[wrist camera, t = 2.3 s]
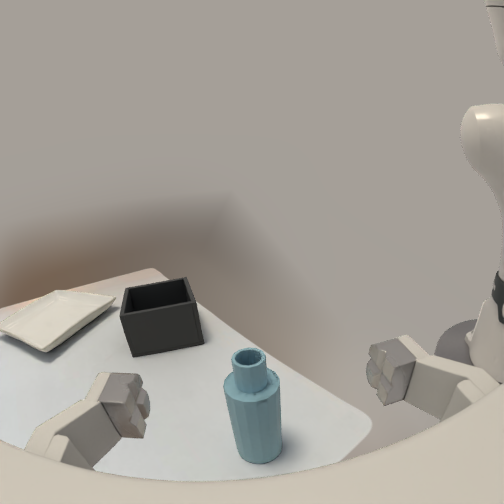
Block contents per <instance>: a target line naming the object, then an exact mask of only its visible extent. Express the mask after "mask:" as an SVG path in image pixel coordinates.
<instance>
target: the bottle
mask: <svg viewBox="0 0 504 504" xmlns="http://www.w3.org/2000/svg"><path fill="white" fill-rule="evenodd" d="M231 360H232V366H233V372H232V373H230V374H229V375H228V376H227V378H226V379H225V381H224V386H223V387H224V392H225V397H226V402H227V406H228V411H229V415H230V420H231V424H232V428H233V433H234V437H235V441H236V445H237V449H238V452H239V454H240V456H241V457H242V458H243V459H244V460H246V461H248V462H251V463H255V464H262V463H267V462H270V461H272V460H274V459H275V458H276V457H277V456H278V455H279V454H280V452H281V449H282V436H281V406H280V381H279V377H278V376H277V374H276V373H275V372H274V371H272V370H270V369H269V368H267V367H266V356H265V354H264V352H263V351H262V350H259V349H257V348H245V349H241V350H238V351H237V352H235V353H234V354H233V356H232V359H231Z"/></svg>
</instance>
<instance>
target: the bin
mask: <svg viewBox="0 0 504 504" xmlns="http://www.w3.org/2000/svg"><path fill="white" fill-rule="evenodd" d="M120 320H121V323H122V326H123V329H124V333H125V336H126V339H127V342H128V345H129V348H130V351H131V353H132V356H133V357H137V356H143V355H149V354H155V353H160V352H166V351H171V350H176V349H181V348H186V347H191V346H196V345H200V344H204V340H203V335H202V330H201V325H200V320H199V314H198V309H197V303H196V300H195V298H194V295H193V293H192V290H191V288H190V285H189V282H188V280H187V277H185V278H179V279H174V280H168V281H163V282H157V283H151V284H146V285H140V286H135V287H129V288H125V292H124V297H123V302H122V306H121V311H120Z"/></svg>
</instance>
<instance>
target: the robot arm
mask: <svg viewBox="0 0 504 504" xmlns="http://www.w3.org/2000/svg"><path fill="white" fill-rule="evenodd" d="M484 2H485V5H486V9H487V12H488V16H489V19H490V23H491V27H492V31H493V35H494V40H495V44H496V49H497V54H498V56H499V58H500V60H501V62H502V64H503V65H504V0H484ZM460 136H461V137H460V138H461V144H462V148H463V151H464V154H465V156H466V158H467V160H468V162H469V163H470V165H471V166H472V168H473V169H474V170H475V171H476V172H477V173H478V174H479V175H480V176H481V177H482V178H483V179H484V180H485V181H486V183H487V184H488V185H489V187H490V188H491V190H492V192H493V193H494V196H495V198H496V200H497V202H498V205H499V208H500V212H501V217H502V228H503V233H502V234H503V235H502V251H501V260H500V266H499V271H497V273H496V277H495V279H494V283H493V290H492V296H491V297H490V298H488V299H487V300H486V301H484V302H483V304H482V307H481V310H480V313H479V316H478V319H477V323H476V325H475V328H474V330H472V331H470V332H468V333H467V334H466V336H465V342H466V343H467V345H468V346H469V354H470V358H471V361H472V363H473V364H474V366H471V365H467V364H464V363H460V362H456V361H453V360H449V359H446V358H442V357H439V356H435V355H432V356H430V355H428V354H427V353H426V352H425V351H424V350H423V349H422V348H421V347H420V346H419V345H418V344H417V343H416V342H415V341H414V340H413V339H412V338H410V336H408V335H403V336H400V337H397V338H394V339H392V340H388V341H384V342H381V343H377V344H373V345H371V347H370V349H369V355H370V357H371V359H370V361H369V362H368V363H367V368H366V375H367V379H368V382H369V384H370V385H371V387H373V388H375V389H377V396H378V398H379V399H380V400H381V402H382V403H383V405H384V406H386V405H389V404H392V403H395V402H398V401H401V400H404V401H406V402H408V403H410V404H411V405H413V406H415V407H417V408H419V409H421V410H423V411H425V412H427V413H429V414H431V415H432V416H434V417H436V418H438V419H440V422H439V423H438V424H436V425H434V426H432V427H430V428H428V429H426V430H424V431H422V432H420V433H417V434H415V435H413V436H411V437H408V438H406V439H404V440H401V441H399V442H396V443H394V444H392V445H389V446H386V447H384V448H381V449H379V450H376V451H373V452H370V453H367V454H364V455H361V456H358V457H355V458H351V459H348V460H345V461H341V462H338V463H334V464H330V465H326V466H322V467H318V468H313V469H309V470H304V471H299V472H294V473H288V474H282V475H276V476H269V477H261V478H252V479H242V480H227V481H168V480H154V479H144V478H135V477H127V476H121V475H114V474H109V473H103V472H98V471H95V470H94V469H93V468H92V467H93V466H94V465H95V464H96V463H97V462H98V461H99V460H100V459H101V458H102V457H103V456H104V455H106V454H107V453H108V452H109V451H110V450H111V449H112V448H113V447H114V446H115V445H116V443H117V442H118V441H119V440H120V439H121V437H126V438H143V437H144V433H145V429H146V423H145V421H144V419H146V418H147V417H148V416H149V412H150V401H149V396H148V394H147V392H146V391H145V390H144V389H143V388H141V387H142V384H143V381H142V379H141V377H140V375H138V374H130V373H106V372H101V373H99V374H98V375H97V377H96V379H95V381H94V383H93V385H92V386H91V388H90V390H89V392H88V394H87V396H86V398H85V400H80V401H78V402H77V403H75V404H74V405H72V406H70V407H69V408H67V409H66V410H64V411H62V412H61V413H59V414H57V415H56V416H54V417H53V418H51V419H49V420H48V421H46V422H44V423H43V424H41V425H39V426H38V427H36V429H35V430H34V432H33V434H32V436H31V438H30V439H29V441H28V443H27V445H26V447H25V449H24V450H23V449H21V448H18V447H16V446H13V445H11V444H9V443H6V442H4V441H2V440H0V504H504V104H498V103H495V104H484V105H478V106H472V107H470V108H469V109H468V110H467V112H466V114H465V115H464V117H463V120H462V124H461V130H460ZM498 382H500V383H502V384H501V385H500V384H499V383H498Z"/></svg>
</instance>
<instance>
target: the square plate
mask: <svg viewBox="0 0 504 504" xmlns="http://www.w3.org/2000/svg"><path fill="white" fill-rule="evenodd" d="M115 299H116V297H114V296H107V295H100V294H92V293H85V292H76V291H63V290H55V291H53V292H52V293H50V294H48V295H46V296H44V297H42V298H40V299H38V300H36V301H34V302H32V303H30V304H29V305H27V306H25V307H24V308H22V309H20V310H19V311H17V312H15V313H14V314H12V315H11V316H9V317H8V318H6V319H5V320H3V321H2V322H0V331H1V332H3V333H5V334H6V335H9V336H11V337H14V338H16V339H18V340H20V341H22V342H24V343H26V344H28V345H30V346H32V347H34V348H36V349H37V350H40V351H43V352H49V351H50V350H52V349H53V348H55V347H56V346H58V345H60V344H62V343H63V342H64V341H66V340H67V339H68V338H70V337H71V336H72V335H73V334H75V333H76V332H77V331H79V330H80V329H81V328H83V327H84V326H86V325H87V324H88V323H90V322H91V321H92V320H94V319H95V318H96V317H97V316H99V315H100V314H101V313H103V312H104V311H105V310H107V309H108V308H109V307H110V306H111V305H112V304H113V302H114V301H115Z"/></svg>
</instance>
